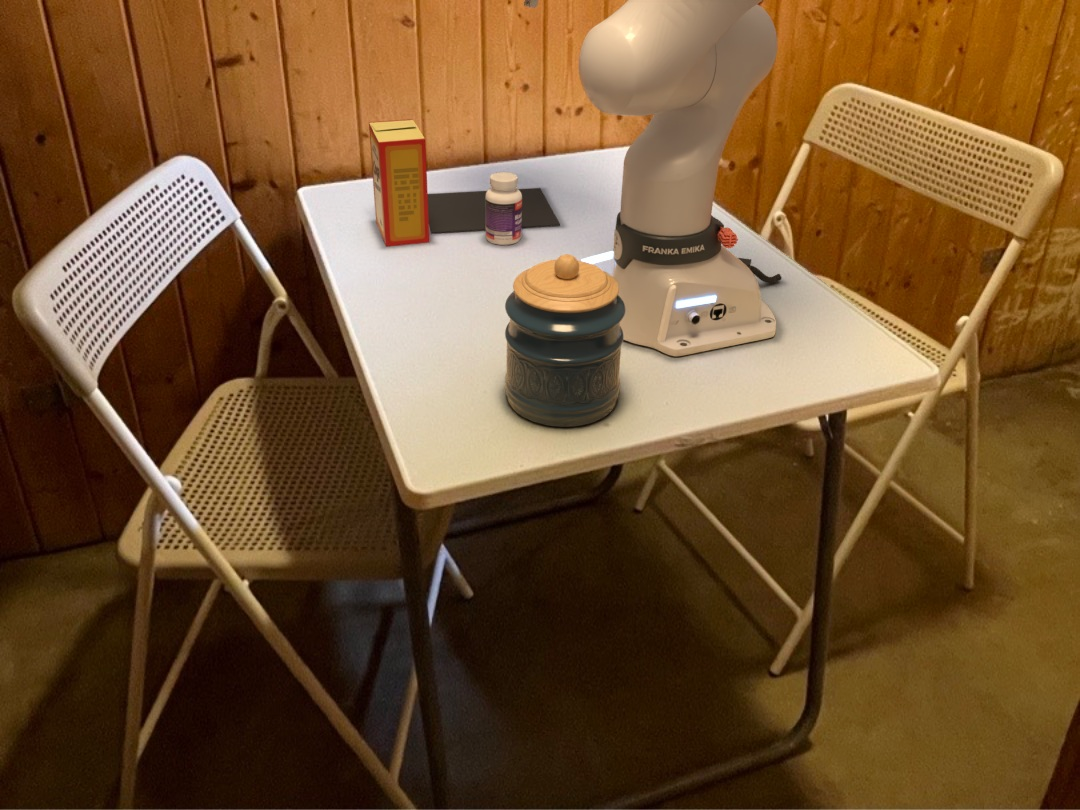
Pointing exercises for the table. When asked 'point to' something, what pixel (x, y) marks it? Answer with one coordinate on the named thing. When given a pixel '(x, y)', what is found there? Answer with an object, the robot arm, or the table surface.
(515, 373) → the canister
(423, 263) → the table surface
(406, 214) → the baking soda box
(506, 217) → the pill bottle
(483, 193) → the rubber mat
